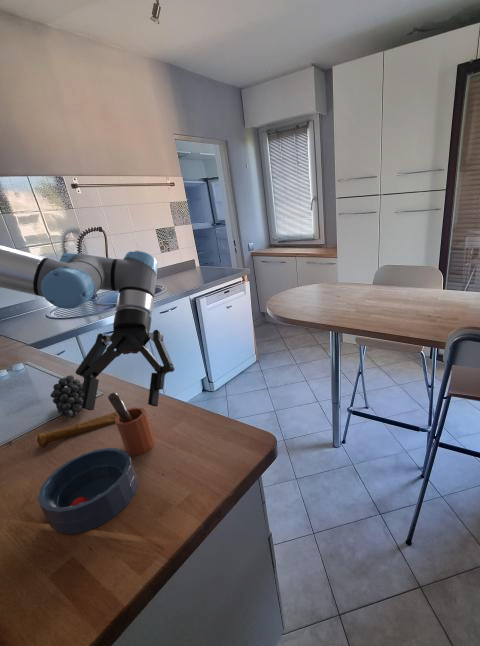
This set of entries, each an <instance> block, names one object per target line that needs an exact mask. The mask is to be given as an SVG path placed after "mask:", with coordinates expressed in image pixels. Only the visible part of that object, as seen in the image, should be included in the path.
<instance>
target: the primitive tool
mask: <svg viewBox="0 0 480 646" xmlns="http://www.w3.org/2000/svg"><path fill="white" fill-rule="evenodd" d="M117 415H118V413H117V412H116V411H115V412H110V413H107V414H105V415H102V416H99V417H95V418H92V419H88V420H87V421H84V422H79V423H76V424H73V425H70V426H66V427H63V428H60V429H57V430H53V431H48V432H45V433H43V432H39V433H38V434H37V438H36V442H37V444H38V447H39V448H42V449H44V448H45V447H47V446H48V445H49V444H52V443H54V442H58V441H61V440H64V439H68V438H70V437H73V436H76V435H80V434H84V433H86V432H90V431H93V430H97V429H101V428H104V427H106V426H111V425H113V424H114V425H115V424H116V423H115V418H116V416H117Z"/></svg>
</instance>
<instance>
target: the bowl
mask: <svg viewBox="0 0 480 646" xmlns="http://www.w3.org/2000/svg"><path fill="white" fill-rule="evenodd" d="M138 482H139V480H138V475H137V473H136V470H135V467H134V464H133V461H132V459H131V455H128V454H127V452H126V451H125V450H123V449H121V448H118V447H105V448H104V447H103V448H97V449H93V450H91V451H88V452H84V453H82V454H80V455H78V456H75V457H73V458H72V459H70V460H68V461H67V462H65V463H63V464H62V465H60V466H59V467H58V468H57V469H56V470H54V471H53V472H52V473H51V474H50V475H49V476H48V477H47V478H46V480H45V481H44V482H43V483H42V485H41V487H40V488H39V491H38V495H37V500H38V504H39V507H40V508H41V510H42V512H43V514H44V516H45V518H46V520H47V522H48V524H49V526H50V528H51V529H53V530H54V531H56V532H57V533H59V534H66V535H74V534H79V533H85V532H89V531H92V530H93V529H96V528H98V527H101V526H103V525H104V524H105V523H107V522H109V521H111V520H112V519H113V518H115V517H117V515H119V513H121V512H122V511H124V509H125V508H126V507H127V506H128V505H129V504H130V502H131V501H132V500H133V498H134V497H135V494H136V492H137V490H138V486H139V483H138ZM78 497H86V498H88V499H89V501H86V502H84V503H81V504H78V505H76V506H70V505H71V503H72V502H73V501H74V500H75V499H76V498H78Z"/></svg>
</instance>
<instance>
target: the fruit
mask: <svg viewBox="0 0 480 646" xmlns="http://www.w3.org/2000/svg"><path fill="white" fill-rule="evenodd" d="M57 382H58V383H55V384H54V385H53V391H52V392H51V393H50V397H51V398H53V399H52V403H53V404H55V405H56V409H57V414H59V415H60V416H61V417H64V418H65V419H69V418H70V419H76V418H77V417H78V412H80V411H82V409H83V408H82V404H83V399H84V394H85V393H82V388H83V382H81V380H80V379H78V378H76V379H75V377H74V376H73V375H71V374H69V375H67V376H66V377H62V378H60V379H59V380H58V381H57Z"/></svg>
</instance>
